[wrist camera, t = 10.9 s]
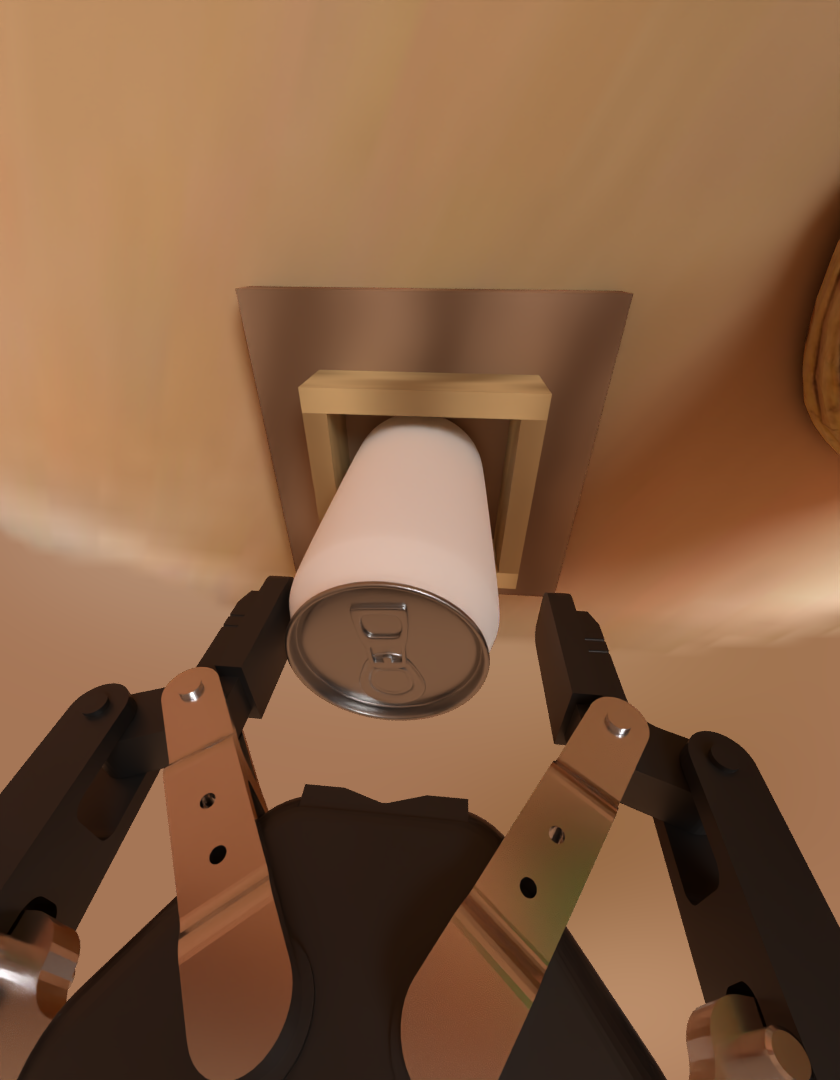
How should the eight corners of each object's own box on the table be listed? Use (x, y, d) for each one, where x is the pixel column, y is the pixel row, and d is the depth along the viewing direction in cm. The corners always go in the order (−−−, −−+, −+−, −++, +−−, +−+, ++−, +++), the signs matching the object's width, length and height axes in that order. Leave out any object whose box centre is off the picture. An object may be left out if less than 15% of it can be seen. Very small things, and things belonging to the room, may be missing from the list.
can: (367, 527, 23) (300, 726, 13) (346, 413, 20) (233, 572, 10) (482, 523, 22) (502, 731, 13) (483, 404, 19) (512, 567, 9)
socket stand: (620, 290, 17) (665, 300, 14) (549, 581, 26) (564, 634, 23) (250, 286, 18) (197, 294, 14) (305, 568, 27) (282, 617, 24)
